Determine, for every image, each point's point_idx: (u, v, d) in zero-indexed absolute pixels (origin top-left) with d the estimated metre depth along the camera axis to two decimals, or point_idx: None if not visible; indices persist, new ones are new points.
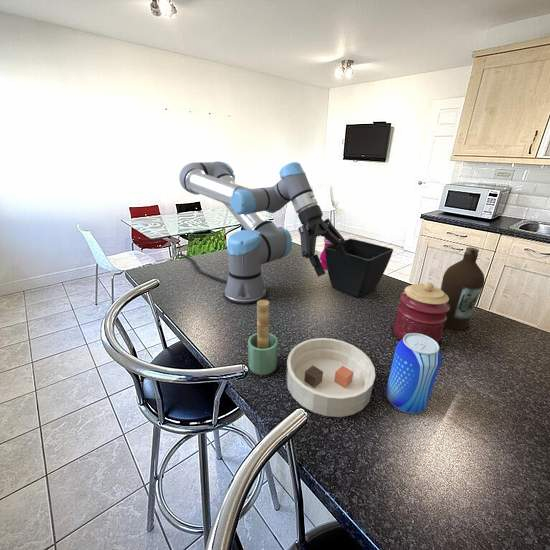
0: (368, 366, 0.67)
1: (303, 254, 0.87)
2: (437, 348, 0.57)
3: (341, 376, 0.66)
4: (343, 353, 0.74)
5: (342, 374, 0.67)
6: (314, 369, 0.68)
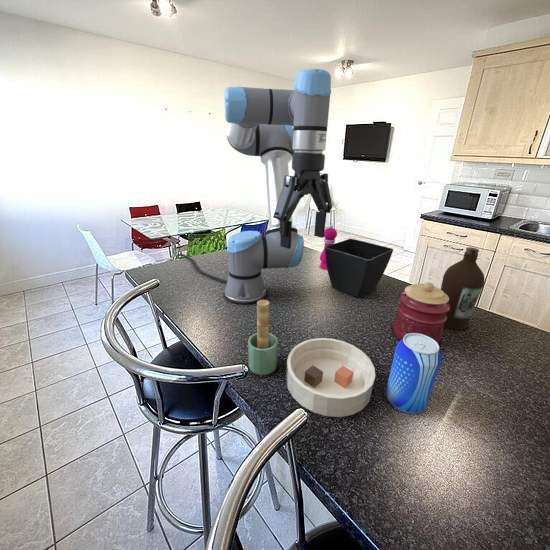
0: (368, 366, 0.67)
1: (275, 216, 0.66)
2: (437, 348, 0.57)
3: (341, 376, 0.66)
4: (343, 353, 0.74)
5: (342, 374, 0.67)
6: (314, 369, 0.68)
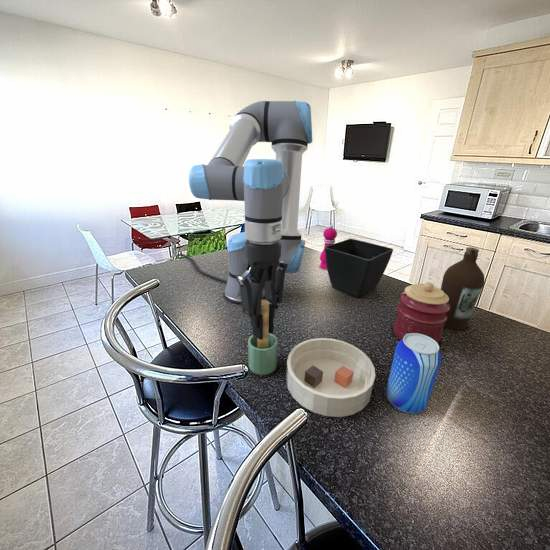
0: (368, 366, 0.67)
1: (244, 312, 0.64)
2: (437, 348, 0.57)
3: (341, 376, 0.66)
4: (343, 353, 0.74)
5: (342, 374, 0.67)
6: (314, 369, 0.68)
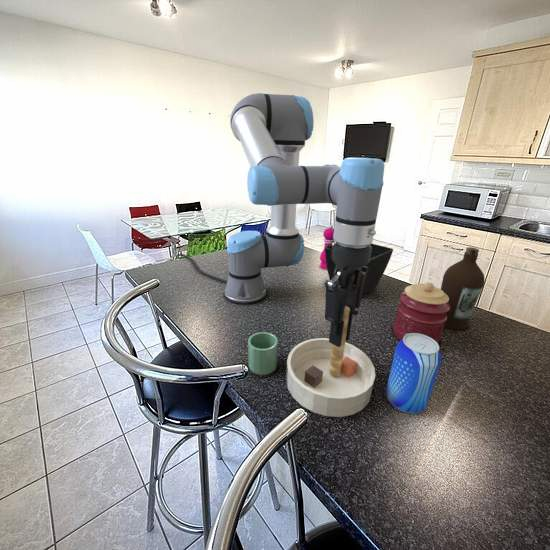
0: (368, 366, 0.67)
1: (327, 318, 0.61)
2: (437, 348, 0.57)
3: (345, 366, 0.69)
4: None
5: (346, 364, 0.70)
6: (314, 369, 0.68)
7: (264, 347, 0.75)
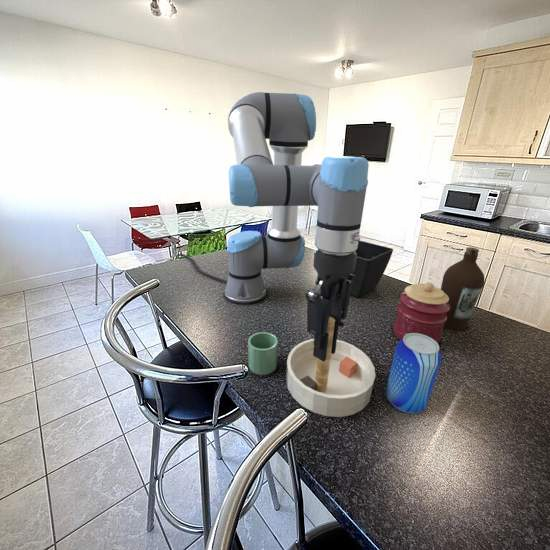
0: (368, 366, 0.67)
1: (310, 331, 0.56)
2: (437, 348, 0.57)
3: (345, 366, 0.69)
4: (343, 353, 0.74)
5: (346, 364, 0.70)
6: (308, 380, 0.65)
7: (264, 347, 0.75)
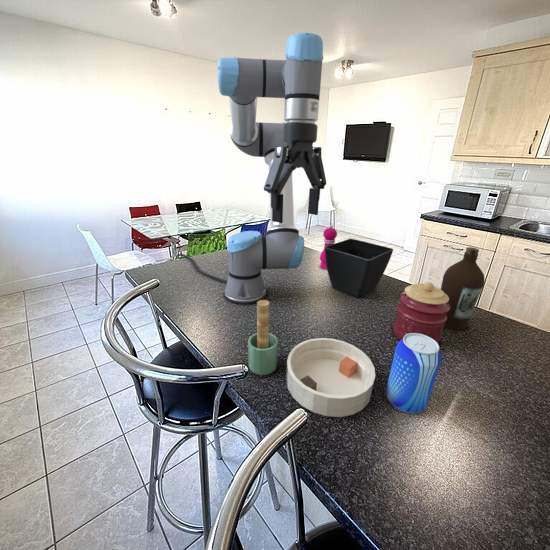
0: (368, 366, 0.67)
1: (266, 188, 0.64)
2: (437, 348, 0.57)
3: (345, 366, 0.69)
4: (343, 353, 0.74)
5: (346, 364, 0.70)
6: (308, 380, 0.65)
7: None
